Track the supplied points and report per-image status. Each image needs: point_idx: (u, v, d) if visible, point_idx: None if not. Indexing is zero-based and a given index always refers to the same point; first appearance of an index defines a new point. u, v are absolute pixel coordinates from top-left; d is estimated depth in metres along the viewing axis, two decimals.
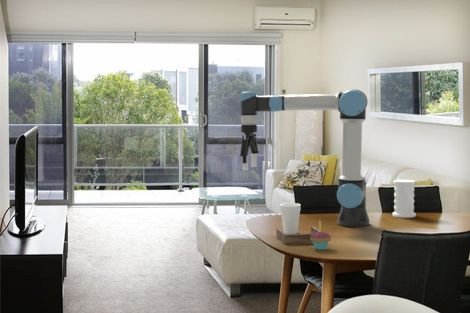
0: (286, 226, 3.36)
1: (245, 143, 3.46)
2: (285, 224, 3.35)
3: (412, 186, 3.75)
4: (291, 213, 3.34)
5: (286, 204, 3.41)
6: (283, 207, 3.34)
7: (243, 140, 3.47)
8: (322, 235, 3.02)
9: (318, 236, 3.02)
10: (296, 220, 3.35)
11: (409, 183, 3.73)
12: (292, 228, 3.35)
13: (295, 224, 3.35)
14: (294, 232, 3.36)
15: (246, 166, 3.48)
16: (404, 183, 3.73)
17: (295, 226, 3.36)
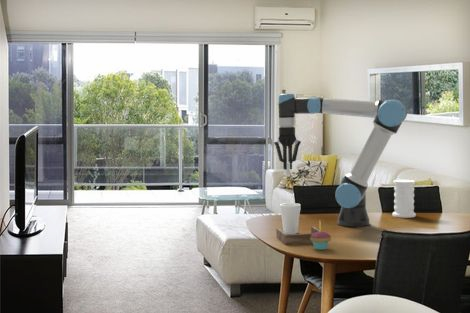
0: (286, 226, 3.36)
1: (277, 150, 3.49)
2: (285, 224, 3.35)
3: (412, 186, 3.75)
4: (291, 213, 3.34)
5: (286, 204, 3.41)
6: (283, 207, 3.34)
7: (276, 147, 3.50)
8: (322, 235, 3.02)
9: (318, 236, 3.02)
10: (296, 220, 3.35)
11: (409, 183, 3.73)
12: (292, 228, 3.35)
13: (295, 224, 3.35)
14: (294, 232, 3.36)
15: (286, 172, 3.51)
16: (404, 183, 3.73)
17: (295, 226, 3.36)
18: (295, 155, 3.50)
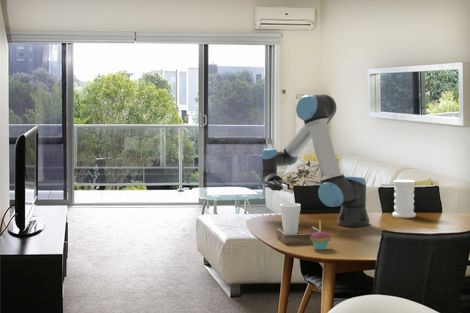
0: (286, 226, 3.36)
1: (269, 184, 3.56)
2: (285, 224, 3.35)
3: (412, 186, 3.75)
4: (291, 213, 3.34)
5: (286, 204, 3.41)
6: (283, 207, 3.34)
7: (268, 186, 3.57)
8: (322, 235, 3.02)
9: (318, 236, 3.02)
10: (296, 220, 3.35)
11: (409, 183, 3.73)
12: (292, 228, 3.35)
13: (295, 224, 3.35)
14: (294, 232, 3.36)
15: (283, 186, 3.46)
16: (404, 183, 3.73)
17: (295, 226, 3.36)
18: (288, 183, 3.54)
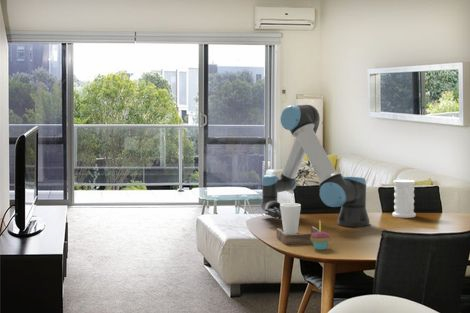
0: (286, 226, 3.35)
1: (269, 211, 3.54)
2: (286, 224, 3.35)
3: (412, 186, 3.75)
4: (291, 213, 3.33)
5: (286, 204, 3.41)
6: (283, 207, 3.34)
7: (268, 213, 3.55)
8: (322, 235, 3.02)
9: (318, 236, 3.02)
10: (296, 220, 3.35)
11: (409, 183, 3.73)
12: (292, 228, 3.35)
13: (295, 224, 3.35)
14: (294, 232, 3.36)
15: None
16: (404, 183, 3.73)
17: (295, 226, 3.35)
18: None
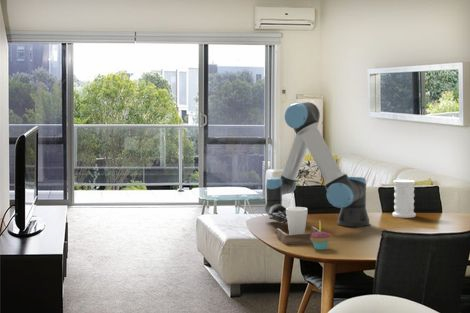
0: (293, 230, 3.24)
1: (274, 215, 3.43)
2: (292, 228, 3.24)
3: (412, 186, 3.75)
4: (299, 217, 3.22)
5: (291, 208, 3.30)
6: (290, 211, 3.23)
7: (272, 217, 3.44)
8: (322, 235, 3.02)
9: (318, 236, 3.02)
10: (303, 224, 3.24)
11: (409, 183, 3.73)
12: (299, 233, 3.24)
13: (302, 229, 3.24)
14: None
15: None
16: (404, 183, 3.73)
17: (302, 231, 3.25)
18: None
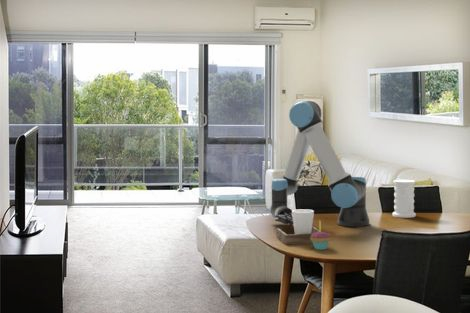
0: (298, 233, 3.18)
1: (280, 218, 3.37)
2: (298, 231, 3.18)
3: (412, 186, 3.75)
4: (304, 220, 3.16)
5: (298, 210, 3.24)
6: (296, 214, 3.17)
7: (278, 220, 3.38)
8: (322, 235, 3.02)
9: (318, 236, 3.02)
10: (309, 227, 3.18)
11: (409, 183, 3.73)
12: None
13: (308, 231, 3.18)
14: None
15: None
16: (404, 183, 3.73)
17: (308, 233, 3.18)
18: None
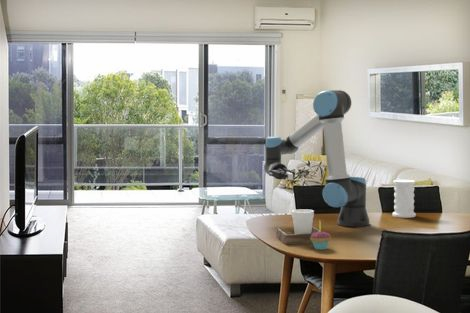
0: (298, 233, 3.18)
1: (274, 172, 3.47)
2: (298, 231, 3.18)
3: (412, 186, 3.75)
4: (304, 220, 3.16)
5: (298, 210, 3.24)
6: (296, 214, 3.17)
7: (272, 174, 3.48)
8: (322, 235, 3.02)
9: (318, 236, 3.02)
10: (309, 227, 3.18)
11: (409, 183, 3.73)
12: None
13: (308, 231, 3.18)
14: None
15: (288, 174, 3.37)
16: (404, 183, 3.73)
17: (308, 233, 3.18)
18: (293, 171, 3.46)
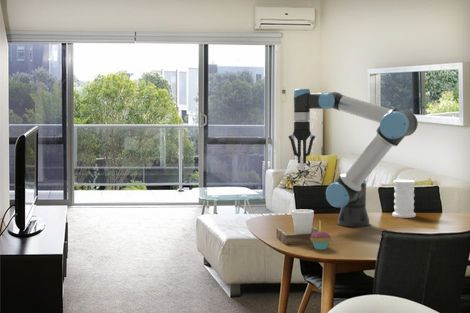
0: (298, 233, 3.18)
1: None
2: (298, 231, 3.18)
3: (412, 186, 3.75)
4: (304, 220, 3.16)
5: (298, 210, 3.24)
6: (296, 214, 3.17)
7: None
8: (322, 235, 3.02)
9: (318, 236, 3.02)
10: (309, 227, 3.18)
11: (409, 183, 3.73)
12: None
13: (308, 231, 3.18)
14: None
15: None
16: (404, 183, 3.73)
17: (308, 233, 3.18)
18: (309, 150, 3.53)
